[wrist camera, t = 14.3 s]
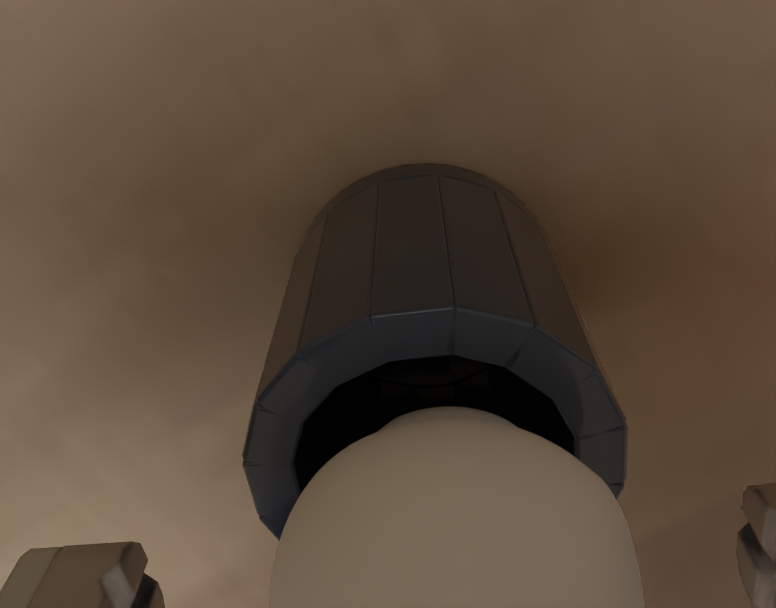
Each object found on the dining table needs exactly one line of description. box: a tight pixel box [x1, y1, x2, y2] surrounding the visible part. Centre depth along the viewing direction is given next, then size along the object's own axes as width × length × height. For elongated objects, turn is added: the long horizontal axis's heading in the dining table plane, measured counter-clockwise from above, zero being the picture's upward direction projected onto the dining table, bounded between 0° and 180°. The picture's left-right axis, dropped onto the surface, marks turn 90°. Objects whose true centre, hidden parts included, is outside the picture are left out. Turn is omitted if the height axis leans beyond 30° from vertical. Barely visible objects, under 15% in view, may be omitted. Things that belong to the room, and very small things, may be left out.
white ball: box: [270, 406, 645, 608], centre depth 10 cm, size 5×5×5 cm
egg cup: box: [242, 164, 628, 541], centre depth 14 cm, size 6×6×6 cm
